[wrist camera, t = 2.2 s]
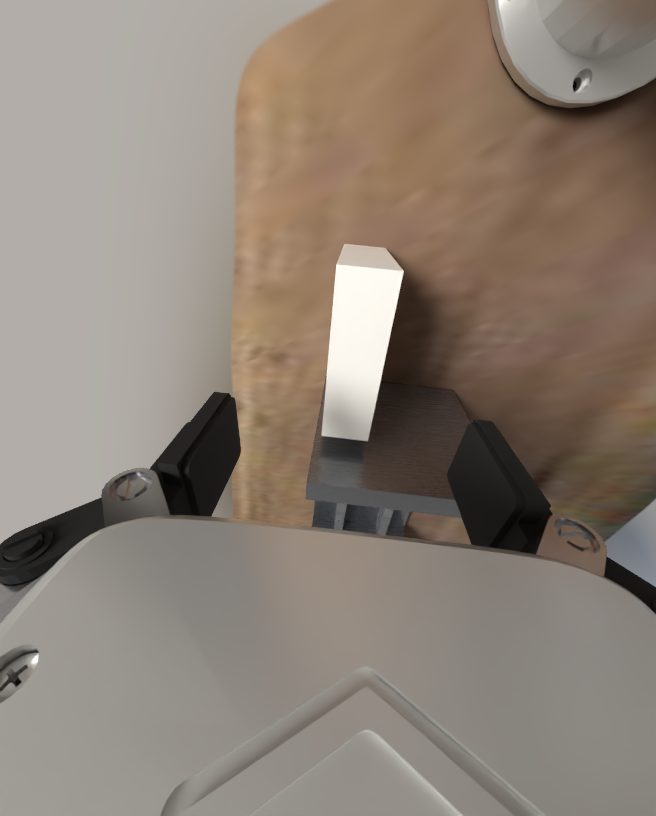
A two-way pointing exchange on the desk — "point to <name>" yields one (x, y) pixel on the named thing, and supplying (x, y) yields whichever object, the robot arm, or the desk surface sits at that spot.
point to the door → (359, 338)
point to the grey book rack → (389, 463)
